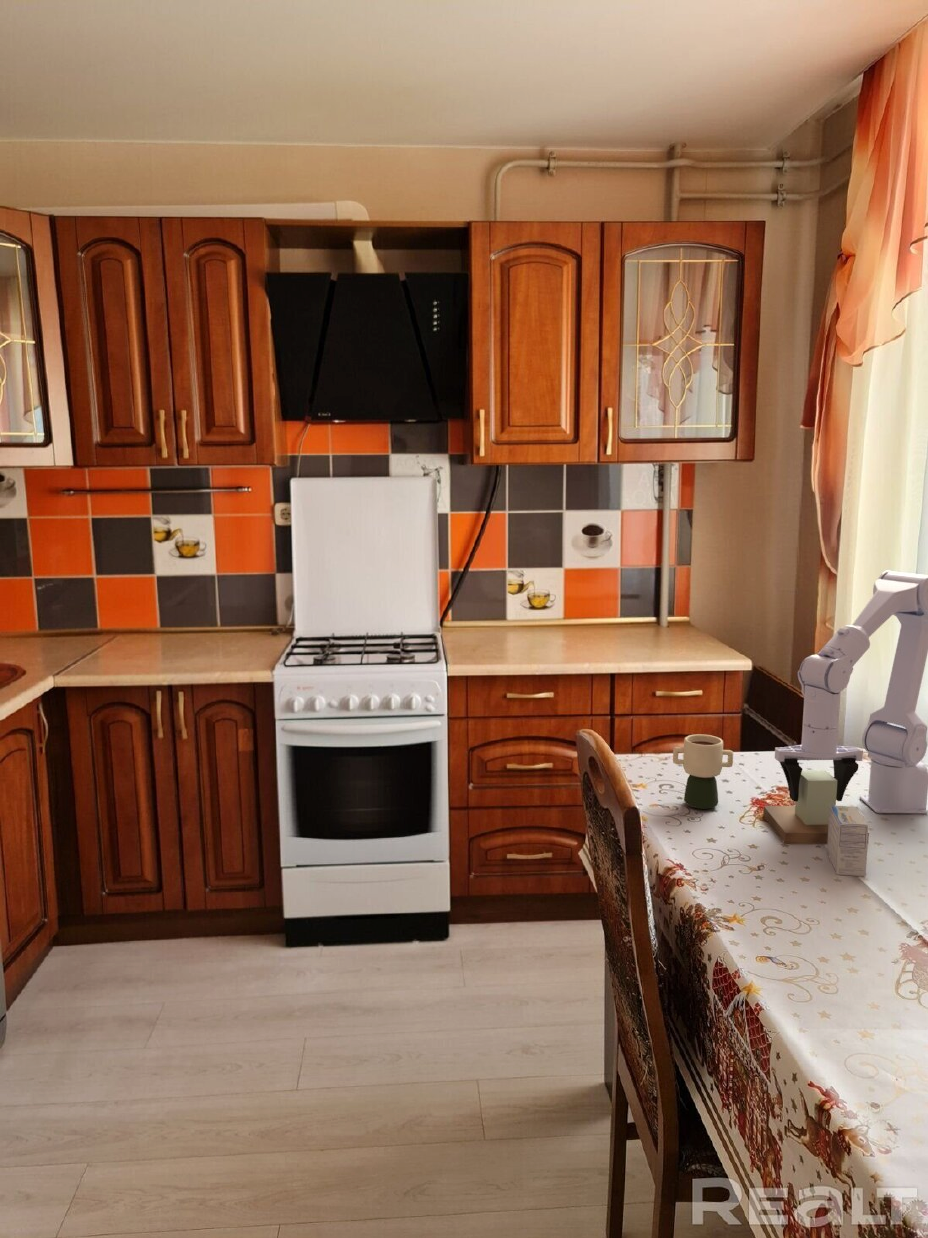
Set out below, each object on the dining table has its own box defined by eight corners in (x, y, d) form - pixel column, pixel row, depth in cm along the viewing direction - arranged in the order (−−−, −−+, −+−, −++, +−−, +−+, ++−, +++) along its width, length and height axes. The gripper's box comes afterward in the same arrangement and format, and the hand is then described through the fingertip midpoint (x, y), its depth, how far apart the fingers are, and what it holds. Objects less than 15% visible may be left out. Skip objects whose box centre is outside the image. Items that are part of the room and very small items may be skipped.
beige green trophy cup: (729, 800, 169) (732, 735, 167) (732, 815, 162) (735, 747, 160) (670, 796, 172) (673, 732, 169) (671, 810, 165) (674, 743, 162)
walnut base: (840, 816, 161) (840, 806, 161) (868, 844, 150) (869, 833, 149) (763, 816, 162) (763, 805, 161) (784, 844, 150) (785, 832, 150)
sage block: (822, 813, 158) (825, 770, 157) (834, 824, 153) (837, 780, 152) (794, 813, 158) (797, 770, 156) (805, 824, 153) (808, 780, 152)
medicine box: (866, 878, 138) (870, 825, 136) (835, 875, 139) (839, 823, 137) (854, 856, 145) (858, 806, 144) (825, 854, 146) (829, 804, 145)
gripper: (852, 717, 156) (847, 790, 159) (770, 718, 156) (766, 791, 159) (870, 729, 149) (864, 805, 152) (784, 730, 149) (780, 806, 152)
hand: (815, 799), depth 155 cm, fingers open, 7 cm apart
